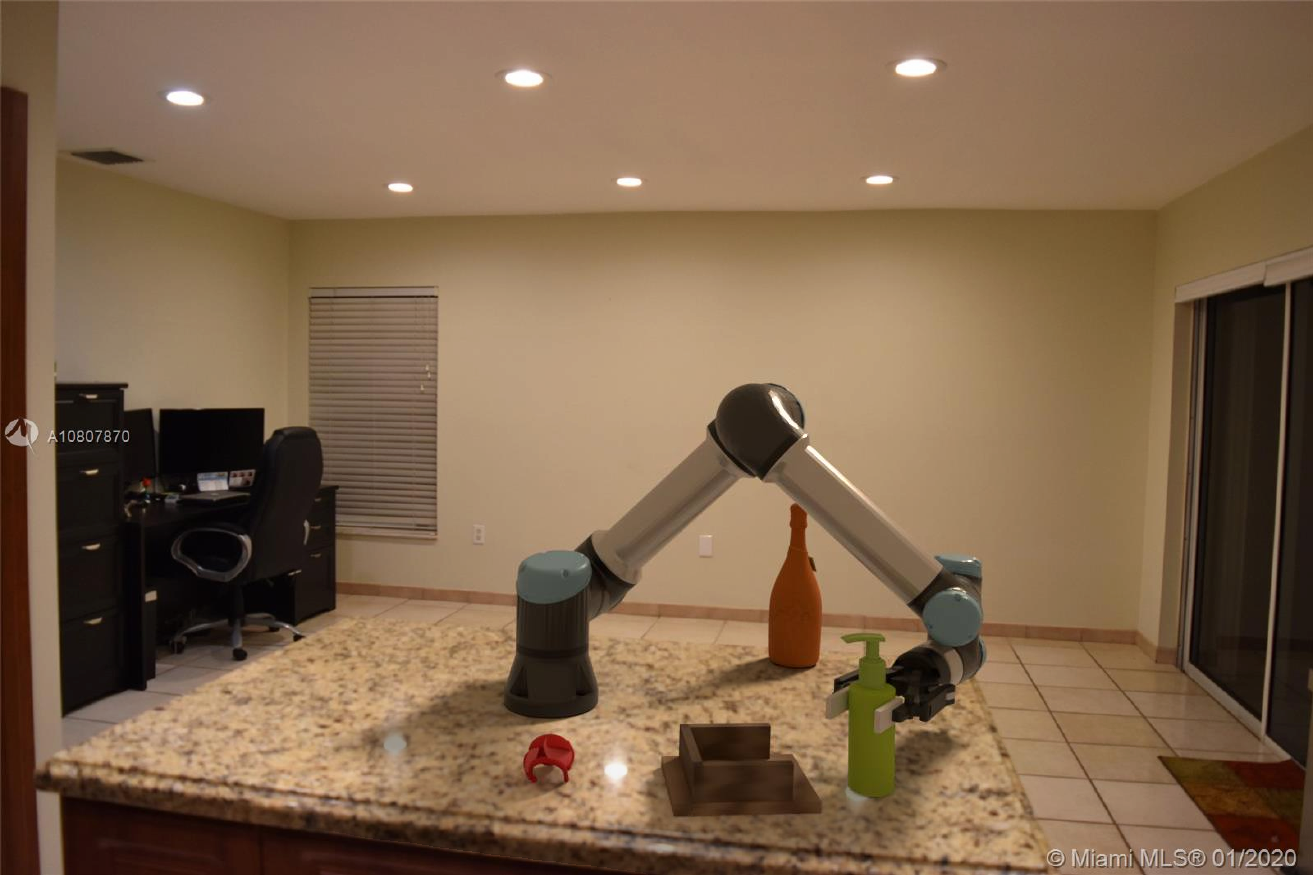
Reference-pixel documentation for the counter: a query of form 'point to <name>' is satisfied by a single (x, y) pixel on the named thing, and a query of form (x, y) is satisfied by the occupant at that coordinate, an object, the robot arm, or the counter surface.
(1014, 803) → the counter surface
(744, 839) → the counter surface
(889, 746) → the soap dispenser
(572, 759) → the cap
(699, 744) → the u rest
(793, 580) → the wine bottle
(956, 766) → the counter surface
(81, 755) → the counter surface
